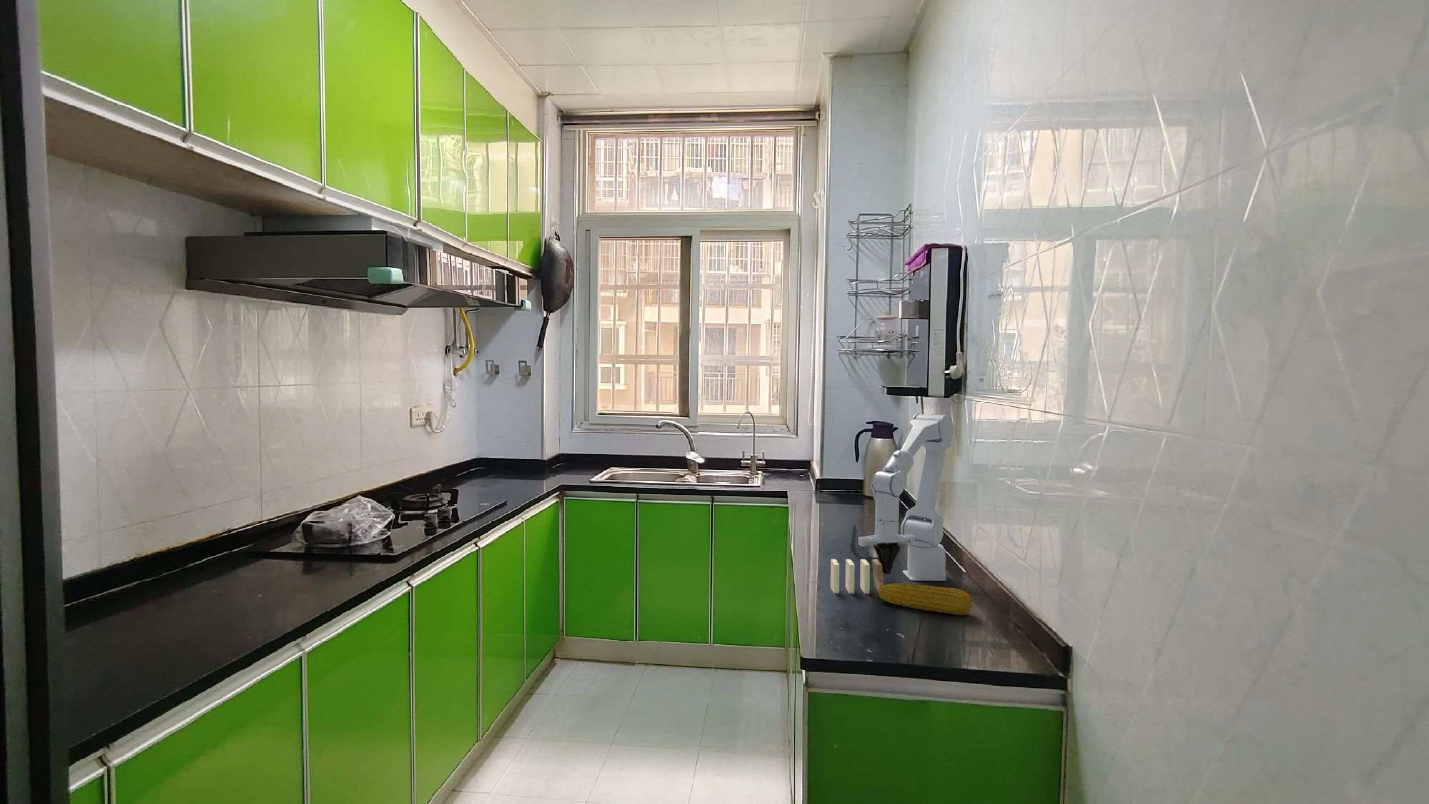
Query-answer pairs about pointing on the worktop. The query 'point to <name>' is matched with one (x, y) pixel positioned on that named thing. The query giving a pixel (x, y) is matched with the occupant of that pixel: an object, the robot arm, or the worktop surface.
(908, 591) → the food
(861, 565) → the domino
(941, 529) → the robot arm
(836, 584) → the domino
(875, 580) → the domino
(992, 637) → the worktop surface
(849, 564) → the domino
